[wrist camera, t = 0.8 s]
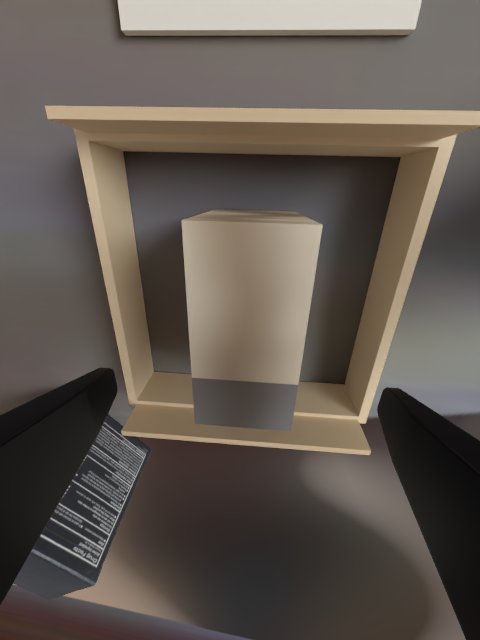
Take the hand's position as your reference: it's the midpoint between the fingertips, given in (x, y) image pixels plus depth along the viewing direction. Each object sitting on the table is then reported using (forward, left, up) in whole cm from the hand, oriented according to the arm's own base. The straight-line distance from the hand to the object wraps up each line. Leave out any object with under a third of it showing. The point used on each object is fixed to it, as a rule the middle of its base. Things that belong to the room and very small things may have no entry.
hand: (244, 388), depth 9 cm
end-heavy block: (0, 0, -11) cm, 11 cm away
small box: (+15, +16, -11) cm, 25 cm away
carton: (0, 0, -11) cm, 11 cm away
